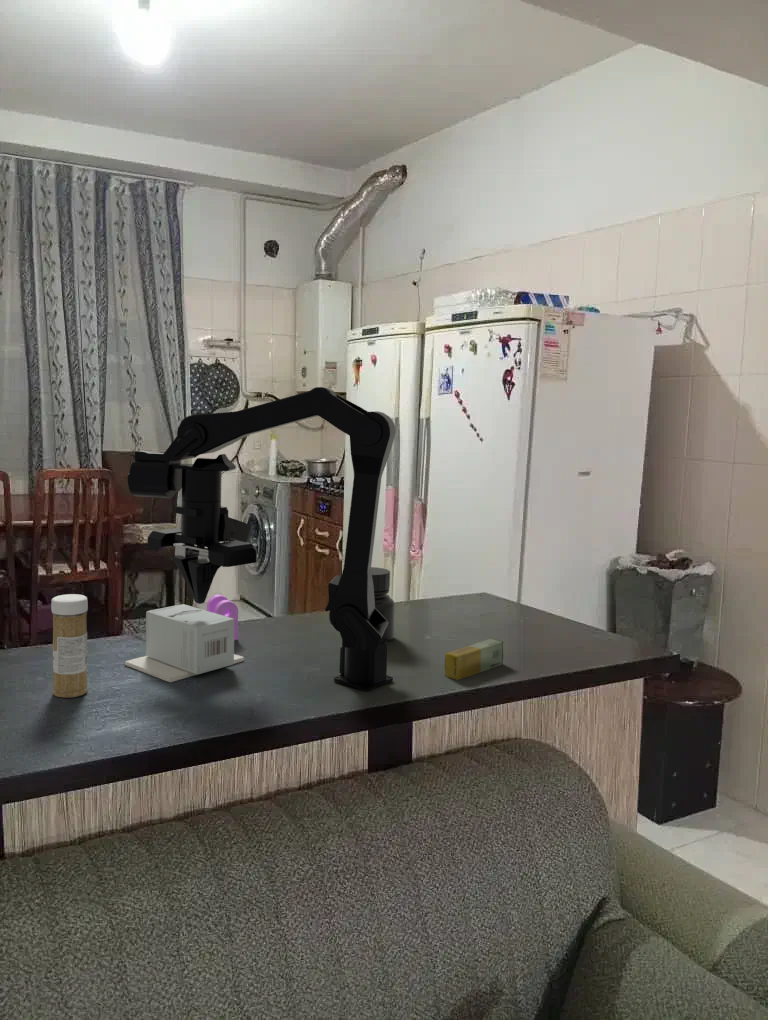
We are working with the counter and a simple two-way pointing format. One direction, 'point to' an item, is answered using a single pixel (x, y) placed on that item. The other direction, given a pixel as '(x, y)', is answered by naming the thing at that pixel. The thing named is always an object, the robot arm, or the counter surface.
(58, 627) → the sprinkles bottle
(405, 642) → the counter surface
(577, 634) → the counter surface
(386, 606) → the ink bottle
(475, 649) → the medication box
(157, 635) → the supplement box
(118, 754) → the counter surface
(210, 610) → the bracket
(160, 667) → the mat
